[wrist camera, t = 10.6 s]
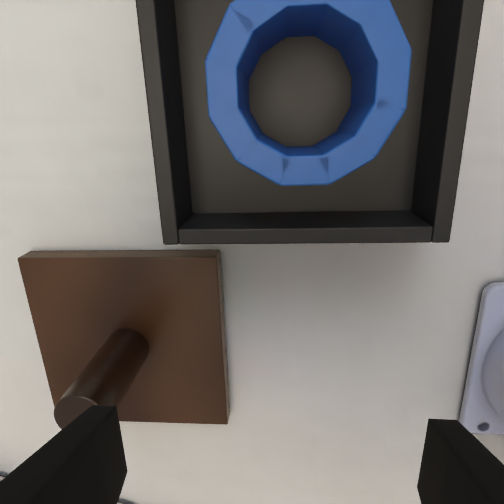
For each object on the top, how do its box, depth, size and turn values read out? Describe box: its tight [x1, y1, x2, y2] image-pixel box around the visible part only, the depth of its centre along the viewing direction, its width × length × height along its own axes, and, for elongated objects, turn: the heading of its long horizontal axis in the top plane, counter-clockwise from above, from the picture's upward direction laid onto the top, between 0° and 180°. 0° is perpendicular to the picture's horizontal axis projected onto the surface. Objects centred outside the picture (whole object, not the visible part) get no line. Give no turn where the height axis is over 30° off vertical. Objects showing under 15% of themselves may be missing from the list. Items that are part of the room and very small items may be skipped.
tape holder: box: [18, 250, 230, 429], centre depth 16 cm, size 9×9×6 cm
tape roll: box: [205, 0, 412, 186], centre depth 12 cm, size 6×6×4 cm
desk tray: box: [136, 0, 484, 245], centre depth 13 cm, size 10×10×3 cm
